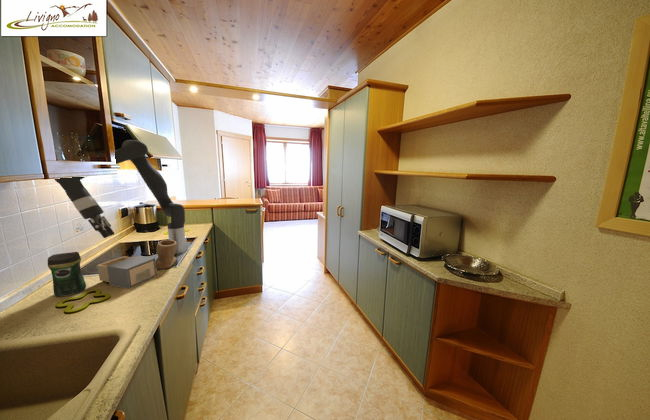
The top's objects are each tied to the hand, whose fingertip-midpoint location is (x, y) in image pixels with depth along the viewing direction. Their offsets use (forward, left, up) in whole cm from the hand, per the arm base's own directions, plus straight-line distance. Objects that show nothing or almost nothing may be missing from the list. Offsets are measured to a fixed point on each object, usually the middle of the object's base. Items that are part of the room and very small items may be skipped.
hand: (109, 236), depth 114 cm
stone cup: (-20, +11, -23) cm, 32 cm away
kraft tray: (0, +8, -21) cm, 23 cm away
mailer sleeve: (0, +12, -22) cm, 25 cm away
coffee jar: (+16, -4, -23) cm, 28 cm away
